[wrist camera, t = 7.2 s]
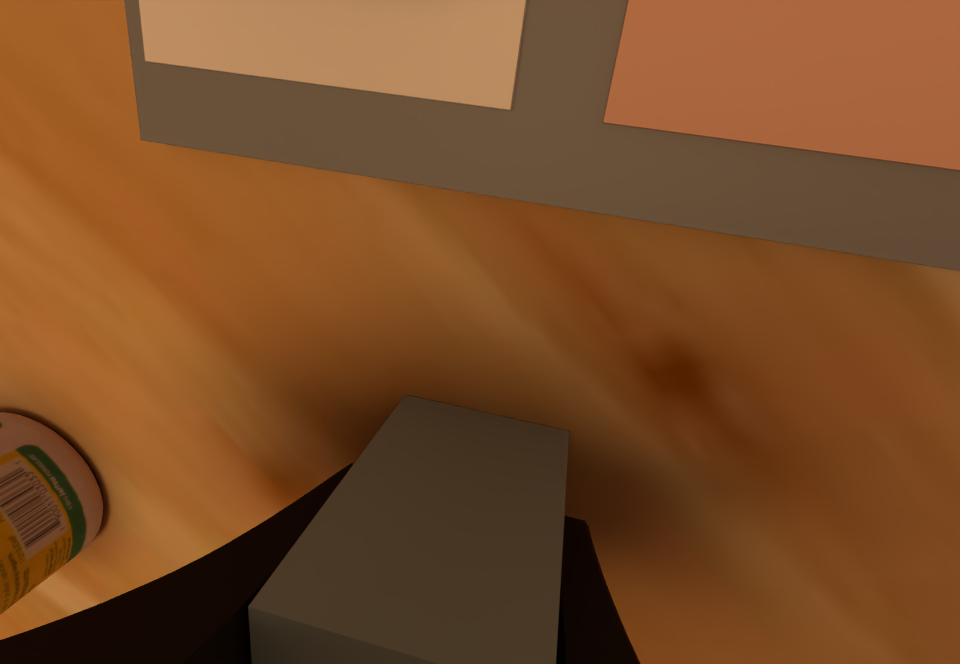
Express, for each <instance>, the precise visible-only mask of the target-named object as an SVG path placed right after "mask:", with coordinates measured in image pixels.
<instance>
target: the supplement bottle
mask: <svg viewBox="0 0 960 664" xmlns="http://www.w3.org/2000/svg"><path fill="white" fill-rule="evenodd" d="M102 516H103V501H102V496H101V492H100V488H99V486H98V484H97V481H96V479H95V477H94V475H93V473H92V472H91V470H90V468H89V466H88V465H87V464H86V462H85V461H84V459H83V458H82V457H81V456H80V455H79V454H78V452H77V451H76V450H75V449H74V448H73V447H72V446H71V445H70V444H69V443H68V442H67V441H66V440H65V439H63V438H62V437H61V436H60V435H58V434H57V433H56V432H54V431H53V430H51V429H49V428H48V427H46V426H45V425H43V424H41V423H39V422H37V421H34V420H32V419H30V418H27V417H24V416H21V415H18V414H13V413H6V412H0V614H2V613H3V612H4V611H5V610H7V609H8V608H9V607H10V606H12V605H13V604H14V603H16V602H17V601H18V600H19V599H21V598H22V597H23V596H25V595H26V594H27V593H29V592H30V591H31V590H32V589H34V588H35V587H36V586H38V585H39V584H40V583H41V582H43V581H44V580H45V579H47V578H48V577H49V576H50V575H52V574H53V573H54V572H56V571H57V570H58V569H60V568H61V567H62V566H63V565H65V564H66V563H67V562H69V561H70V560H71V559H72V558H74V557H75V556H76V555H77V554H78V553H79V552H81V551H82V550H83V549H84V548H86V547H87V546H88V545H89V544H90V543H91V542H92V541H93V539H94V538H95V536H96V534H97V533H98V531H99V528H100V525H101V521H102Z"/></svg>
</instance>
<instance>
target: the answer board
mask: <svg viewBox="0 0 960 664" xmlns="http://www.w3.org/2000/svg"><path fill="white" fill-rule="evenodd" d="M125 8H126V17H127V25H128V34H129V42H130V51H131V59H132V68H133V76H134V85H135V93H136V102H137V110H138V119H139V127H140V136H141V140H143V141H149V142H156V143H162V144H168V145H174V146H181V147H187V148H193V149H200V150H206V151H212V152H218V153H225V154H231V155H237V156H243V157H250V158H256V159H262V160H268V161H275V162H281V163H287V164H293V165H300V166H306V167H312V168H318V169H325V170H331V171H337V172H343V173H350V174H356V175H362V176H369V177H375V178H381V179H387V180H394V181H400V182H406V183H412V184H419V185H425V186H431V187H437V188H444V189H450V190H456V191H462V192H469V193H475V194H481V195H487V196H494V197H500V198H506V199H512V200H519V201H525V202H531V203H538V204H544V205H550V206H556V207H563V208H569V209H575V210H581V211H588V212H594V213H600V214H606V215H613V216H619V217H625V218H631V219H638V220H644V221H650V222H656V223H663V224H669V225H675V226H682V227H688V228H694V229H700V230H707V231H713V232H719V233H725V234H732V235H738V236H744V237H750V238H757V239H763V240H769V241H775V242H782V243H788V244H794V245H800V246H807V247H813V248H819V249H825V250H832V251H838V252H844V253H851V254H857V255H863V256H869V257H876V258H882V259H888V260H894V261H901V262H907V263H913V264H919V265H926V266H932V267H938V268H944V269H951V270H957V271H960V0H125Z"/></svg>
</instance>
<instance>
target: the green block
mask: <svg viewBox="0 0 960 664" xmlns="http://www.w3.org/2000/svg"><path fill="white" fill-rule="evenodd" d="M568 445H569V431H566V430H562V429H557V428H553V427H548V426H544V425H539V424H535V423H530V422H526V421H521V420H517V419H512V418H508V417H503V416H499V415H494V414H490V413H485V412H481V411H477V410H472V409H468V408H463V407H459V406H454V405H450V404H445V403H441V402H436V401H432V400H427V399H423V398H418V397H414V396H409V395H405V396H404V397H403V398H402V400H401V401H400V402H399V404H398V405H397V406H396V408H395V409H394V410H393V412H392V413H391V414H390V416H389V417H388V418H387V420H386V421H385V423H384V424H383V425H382V427H381V428H380V429H379V431H378V432H377V433H376V435H375V436H374V437H373V439H372V440H371V441H370V443H369V444H368V446H367V447H366V448H365V450H364V451H363V452H362V454H361V455H360V456H359V458H358V459H357V460H356V462H355V463H354V464H353V466H352V467H351V468H350V470H349V471H348V473H347V474H346V475H345V477H344V478H343V479H342V481H341V482H340V483H339V485H338V486H337V487H336V489H335V490H334V491H333V493H332V494H331V495H330V497H329V498H328V500H327V501H326V502H325V504H324V505H323V506H322V508H321V509H320V510H319V512H318V513H317V514H316V516H315V517H314V518H313V520H312V521H311V522H310V524H309V525H308V527H307V528H306V529H305V531H304V532H303V533H302V535H301V536H300V537H299V539H298V540H297V541H296V543H295V544H294V545H293V547H292V548H291V549H290V551H289V552H288V554H287V555H286V556H285V558H284V559H283V560H282V562H281V563H280V564H279V566H278V567H277V568H276V570H275V571H274V572H273V574H272V575H271V576H270V578H269V579H268V581H267V582H266V583H265V585H264V586H263V587H262V589H261V590H260V591H259V593H258V594H257V595H256V597H255V598H254V599H253V601H252V602H251V604H250V605H249V606H248V612H249V628H250V644H251V660H252V664H556V654H557V637H558V620H559V602H560V585H561V567H562V550H563V532H564V515H565V498H566V480H567V463H568Z"/></svg>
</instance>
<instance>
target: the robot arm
mask: <svg viewBox="0 0 960 664" xmlns="http://www.w3.org/2000/svg"><path fill="white" fill-rule="evenodd" d="M352 466H353V463H351V464H350V465H348V466H346V467H345V468H343V469H342V470H340V471H339V472H337V473H336V474H335V475H333V476H332V477H330V478H329V479H327V480H326V481H324V482H323V483H322V484H320V485H319V486H317V487H316V488H314V489H313V490H311V491H310V492H308V493H307V494H305V495H304V496H303V497H301V498H300V499H298V500H297V501H295V502H293V503H292V504H290V505H289V506H287V507H286V508H284V509H283V510H281V511H280V512H278V513H277V514H275V515H274V516H272V517H270V518H269V519H267V520H266V521H264V522H262V523H261V524H259V525H257V526H256V527H254V528H252V529H251V530H249V531H247V532H246V533H244V534H242V535H241V536H239V537H237V538H236V539H234V540H232V541H231V542H229V543H227V544H225V545H224V546H222V547H220V548H218V549H216V550H215V551H213V552H211V553H209V554H207V555H205V556H203V557H202V558H200V559H198V560H196V561H194V562H192V563H190V564H188V565H186V566H184V567H182V568H180V569H178V570H176V571H174V572H172V573H169V574H167V575H165V576H163V577H161V578H159V579H156V580H154V581H152V582H149V583H147V584H145V585H143V586H140V587H138V588H136V589H133V590H131V591H129V592H126V593H124V594H122V595H120V596H117V597H115V598H113V599H110V600H108V601H106V602H103V603H101V604H98V605H96V606H93V607H91V608H88V609H86V610H83V611H81V612H78V613H75V614H73V615H70V616H68V617H65V618H62V619H60V620H57V621H54V622H51V623H48V624H46V625H43V626H40V627H37V628H35V629H32V630H29V631H26V632H23V633H20V634H17V635H14V636H11V637H9V638H6V639H3V640H0V664H252V660H251V644H250V628H249V612H248V606H249V605H250V604H251V602H252V601H253V599H254V598H255V597H256V595H257V594H258V593H259V591H260V590H261V589H262V587H263V586H264V585H265V583H266V582H267V581H268V579H269V578H270V576H271V575H272V574H273V572H274V571H275V570H276V568H277V567H278V566H279V564H280V563H281V562H282V560H283V559H284V558H285V556H286V555H287V554H288V552H289V551H290V549H291V548H292V547H293V545H294V544H295V543H296V541H297V540H298V539H299V537H300V536H301V535H302V533H303V532H304V531H305V529H306V528H307V527H308V525H309V524H310V522H311V521H312V520H313V518H314V517H315V516H316V514H317V513H318V512H319V510H320V509H321V508H322V506H323V505H324V504H325V502H326V501H327V500H328V498H329V497H330V495H331V494H332V493H333V491H334V490H335V489H336V487H337V486H338V485H339V483H340V482H341V481H342V479H343V478H344V477H345V475H346V474H347V473H348V471H349V470H350V468H351V467H352ZM556 664H640V662H639V660H638V658H637V655H636V653H635V651H634V649H633V647H632V645H631V642H630V640H629V638H628V636H627V634H626V631H625V629H624V627H623V624H622V622H621V620H620V617H619V615H618V612H617V610H616V607H615V605H614V602H613V600H612V597H611V595H610V592H609V590H608V587H607V584H606V582H605V579H604V576H603V573H602V570H601V567H600V564H599V562H598V558H597V555H596V552H595V549H594V546H593V542H592V538H591V535H590V531H589V526H588V525H587V524H586V522H585V521H583V520H579V519H575V518H571V517H567V516H564V532H563V550H562V567H561V585H560V602H559V620H558V637H557V654H556Z"/></svg>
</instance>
